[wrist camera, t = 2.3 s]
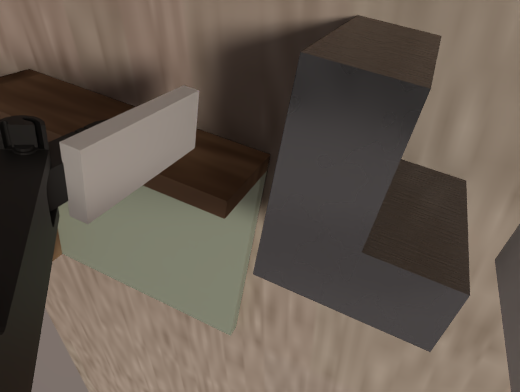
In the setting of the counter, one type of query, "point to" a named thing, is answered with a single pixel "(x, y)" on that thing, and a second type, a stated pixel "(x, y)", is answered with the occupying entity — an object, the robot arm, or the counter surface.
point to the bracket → (366, 188)
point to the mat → (171, 251)
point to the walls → (101, 107)
